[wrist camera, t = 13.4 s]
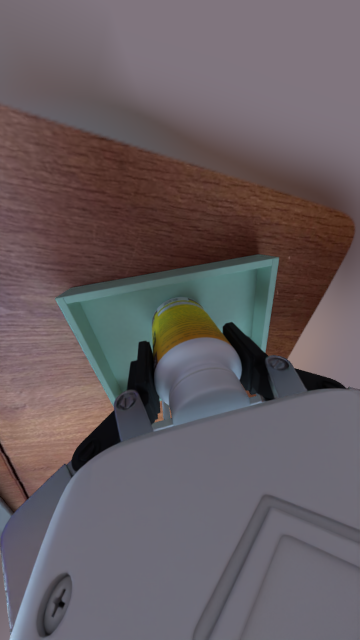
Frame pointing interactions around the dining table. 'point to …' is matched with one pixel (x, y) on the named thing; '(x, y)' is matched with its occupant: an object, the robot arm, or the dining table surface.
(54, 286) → the dining table surface
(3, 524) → the decorative plate
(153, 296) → the dish rack
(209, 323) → the supplement bottle
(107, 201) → the dining table surface
